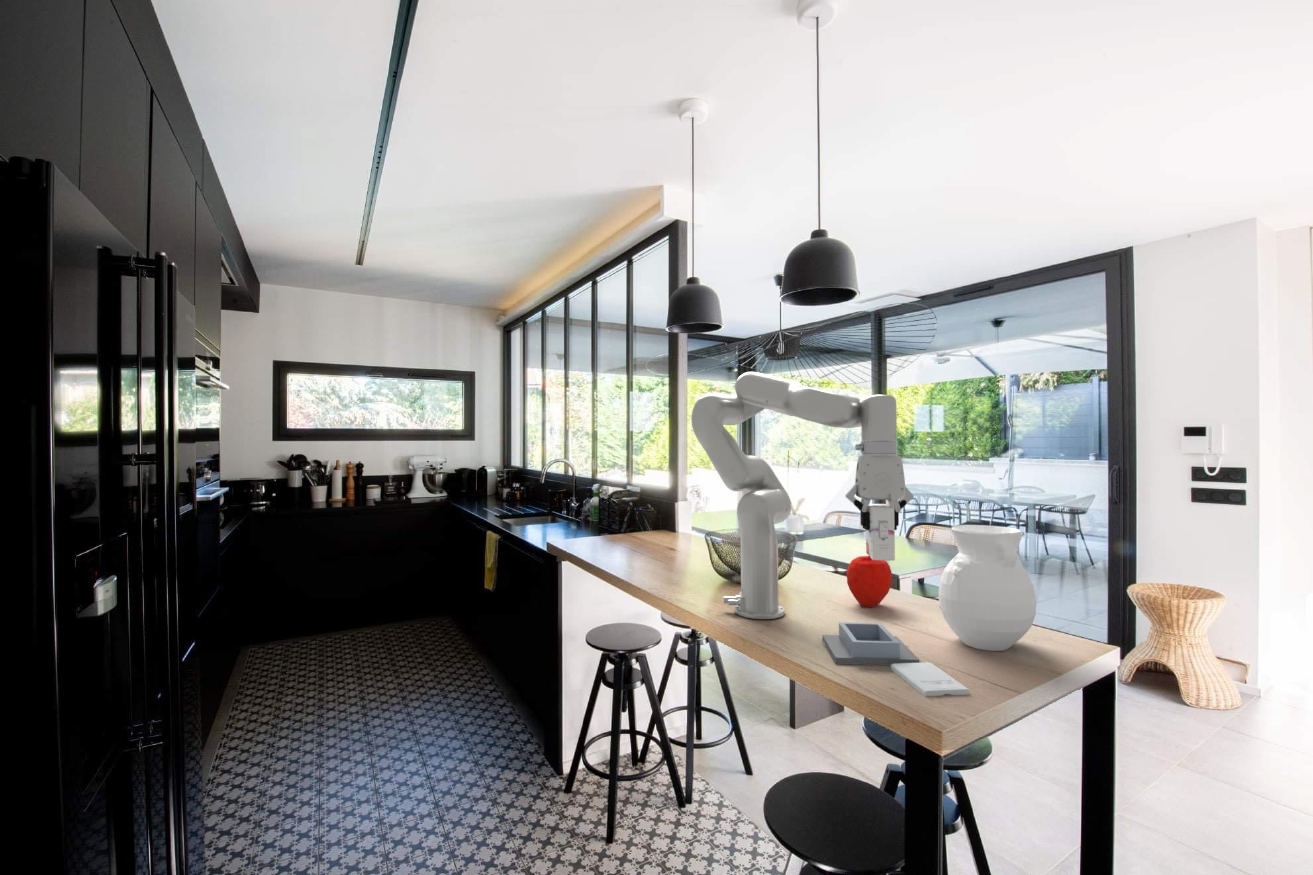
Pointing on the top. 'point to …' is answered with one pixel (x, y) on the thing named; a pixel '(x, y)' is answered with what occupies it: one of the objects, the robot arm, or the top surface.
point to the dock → (867, 645)
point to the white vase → (987, 588)
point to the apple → (869, 580)
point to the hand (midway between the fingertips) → (879, 528)
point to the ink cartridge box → (881, 531)
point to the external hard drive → (929, 679)
